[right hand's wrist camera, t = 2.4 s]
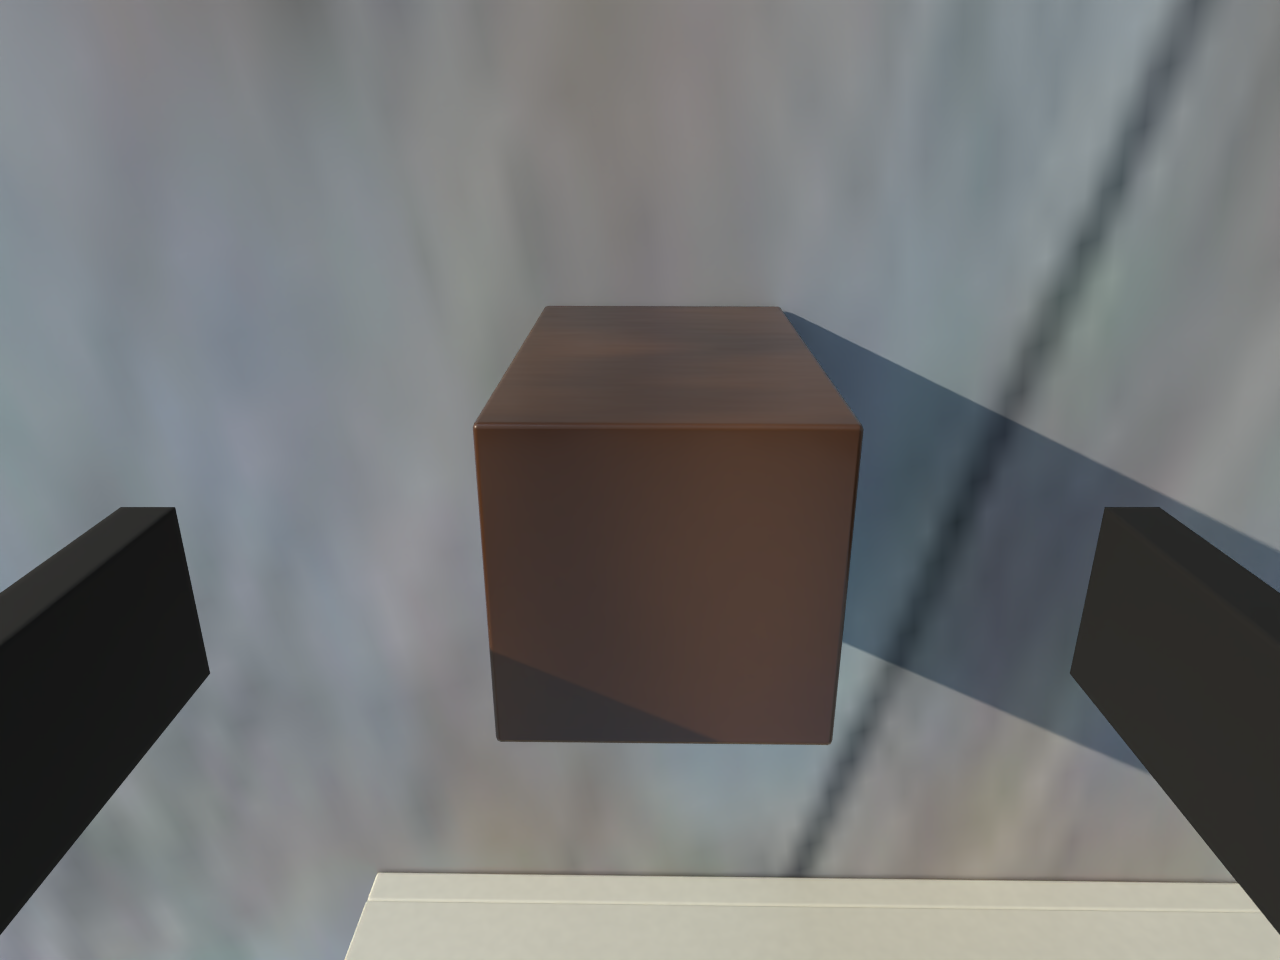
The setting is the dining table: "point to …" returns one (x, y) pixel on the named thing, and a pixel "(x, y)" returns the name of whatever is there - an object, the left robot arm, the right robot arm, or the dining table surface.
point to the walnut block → (666, 529)
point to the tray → (803, 919)
